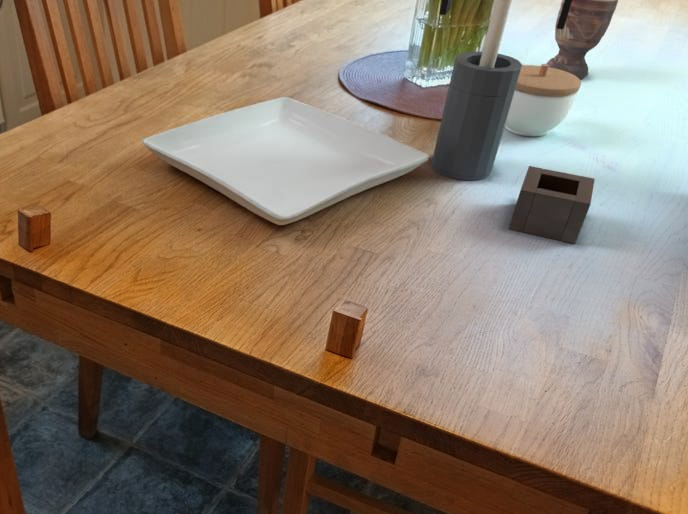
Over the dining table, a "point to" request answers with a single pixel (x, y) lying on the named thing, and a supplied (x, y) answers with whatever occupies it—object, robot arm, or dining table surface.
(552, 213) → the holder
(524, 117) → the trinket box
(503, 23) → the brush
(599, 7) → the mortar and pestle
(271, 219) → the square plate
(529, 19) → the dining table surface
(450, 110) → the dark grey cylindrical container
